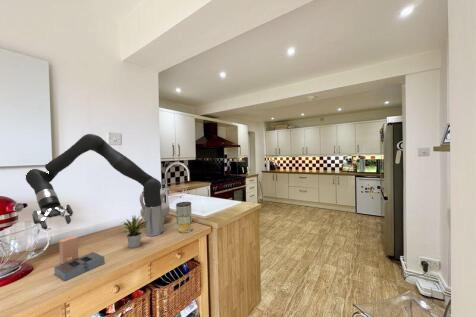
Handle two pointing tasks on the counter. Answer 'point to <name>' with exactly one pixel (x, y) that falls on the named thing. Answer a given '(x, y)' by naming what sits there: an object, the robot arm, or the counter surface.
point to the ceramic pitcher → (164, 205)
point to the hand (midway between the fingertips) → (58, 225)
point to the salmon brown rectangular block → (68, 249)
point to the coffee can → (183, 213)
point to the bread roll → (185, 228)
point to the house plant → (134, 232)
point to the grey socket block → (78, 266)
